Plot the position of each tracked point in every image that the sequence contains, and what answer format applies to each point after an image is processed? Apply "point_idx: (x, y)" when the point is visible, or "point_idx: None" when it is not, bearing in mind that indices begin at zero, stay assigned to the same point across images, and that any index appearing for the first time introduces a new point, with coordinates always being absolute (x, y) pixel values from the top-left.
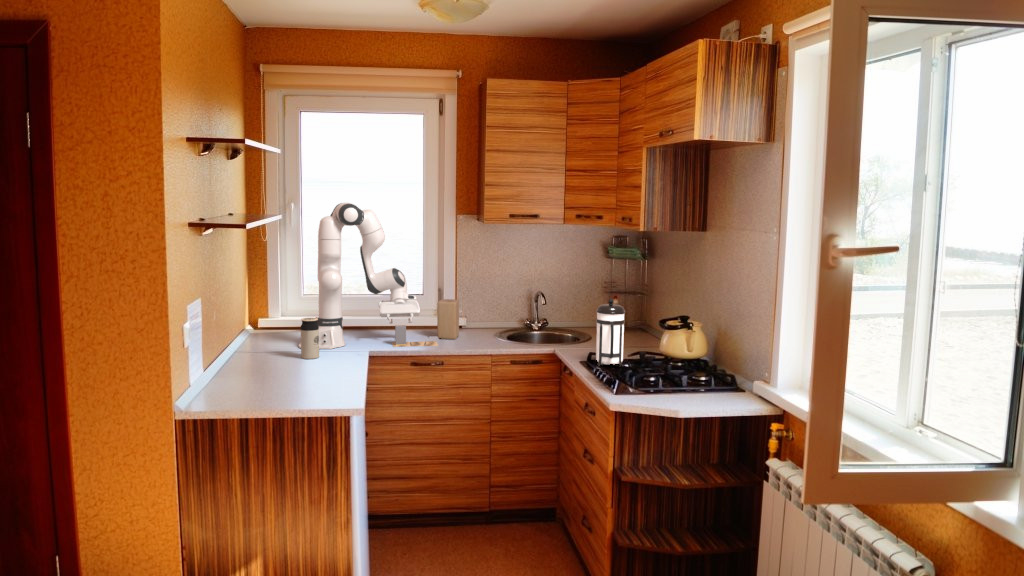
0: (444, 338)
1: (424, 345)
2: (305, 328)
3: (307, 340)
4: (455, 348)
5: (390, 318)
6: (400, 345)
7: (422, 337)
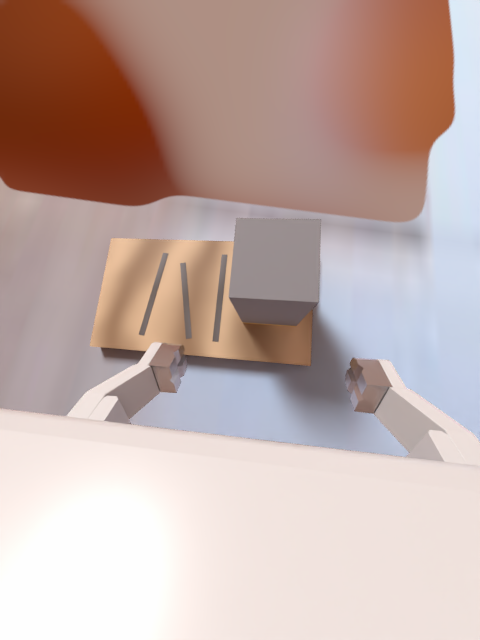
0: None
1: (166, 252)
2: None
3: None
4: (57, 241)
5: (395, 391)
6: None
7: None
